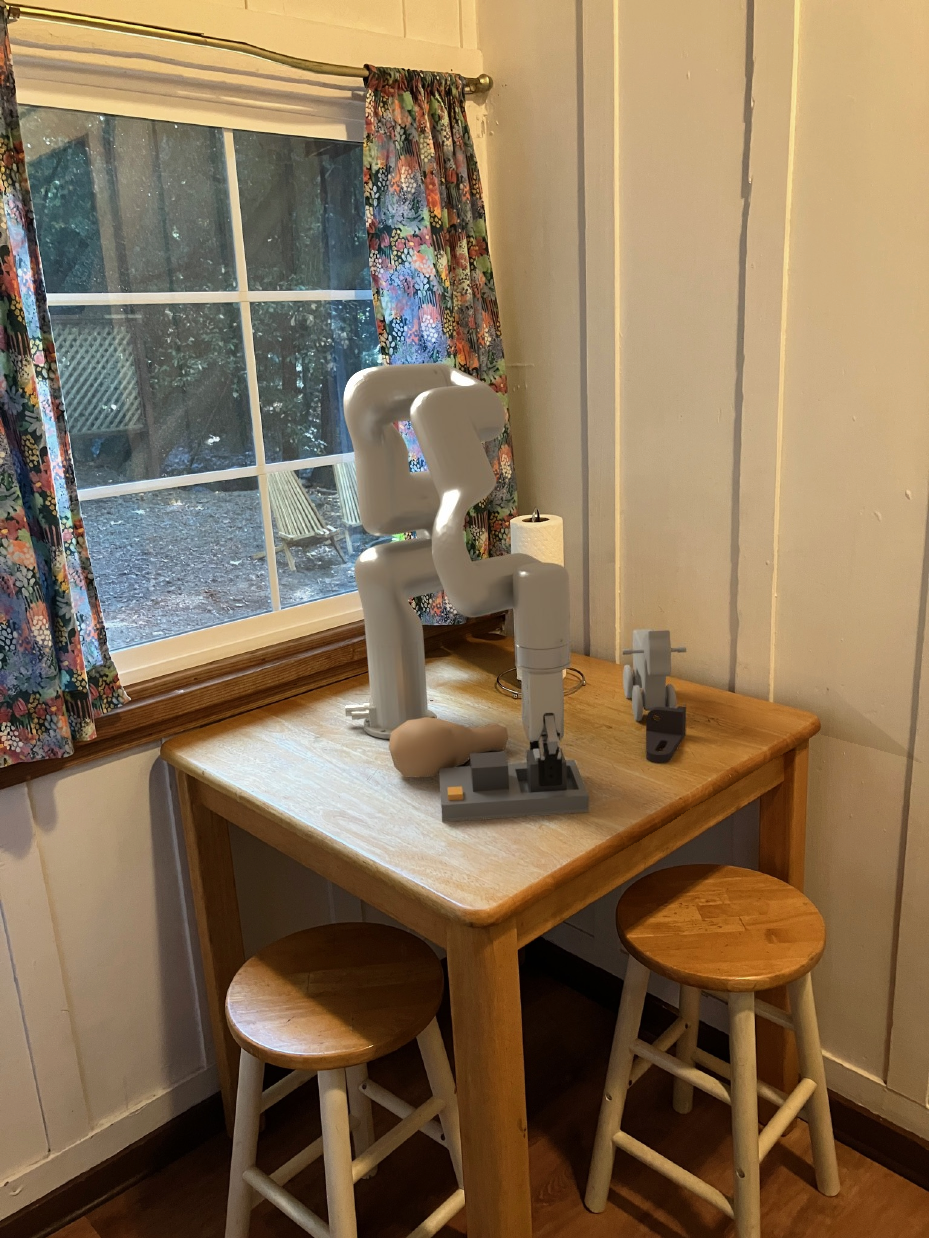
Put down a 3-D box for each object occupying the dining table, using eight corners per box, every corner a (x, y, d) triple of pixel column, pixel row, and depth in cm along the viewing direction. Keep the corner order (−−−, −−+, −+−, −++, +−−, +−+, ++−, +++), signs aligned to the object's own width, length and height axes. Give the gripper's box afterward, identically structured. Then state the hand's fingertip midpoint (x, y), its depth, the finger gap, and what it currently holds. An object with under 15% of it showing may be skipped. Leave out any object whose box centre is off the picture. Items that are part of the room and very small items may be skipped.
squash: (375, 776, 146) (373, 717, 146) (480, 756, 158) (478, 701, 158) (414, 787, 138) (411, 724, 137) (522, 765, 149) (520, 707, 149)
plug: (531, 800, 134) (530, 761, 132) (527, 785, 139) (526, 746, 137) (567, 798, 134) (566, 758, 132) (561, 783, 139) (560, 744, 137)
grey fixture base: (442, 821, 130) (439, 781, 129) (439, 783, 142) (437, 746, 140) (589, 812, 131) (588, 771, 129) (574, 774, 142) (574, 737, 141)
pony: (692, 731, 156) (693, 632, 152) (628, 733, 157) (628, 634, 152) (669, 689, 176) (670, 600, 171) (612, 691, 176) (612, 603, 172)
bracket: (630, 761, 147) (630, 730, 146) (649, 731, 158) (649, 703, 156) (668, 766, 145) (668, 735, 143) (685, 735, 155) (685, 706, 154)
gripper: (509, 637, 139) (512, 747, 144) (522, 676, 122) (526, 799, 127) (560, 634, 139) (562, 744, 144) (580, 672, 123) (582, 795, 127)
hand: (545, 769), depth 136 cm, fingers open, 9 cm apart
